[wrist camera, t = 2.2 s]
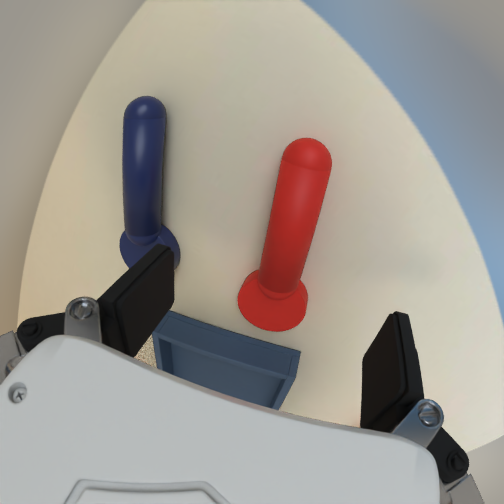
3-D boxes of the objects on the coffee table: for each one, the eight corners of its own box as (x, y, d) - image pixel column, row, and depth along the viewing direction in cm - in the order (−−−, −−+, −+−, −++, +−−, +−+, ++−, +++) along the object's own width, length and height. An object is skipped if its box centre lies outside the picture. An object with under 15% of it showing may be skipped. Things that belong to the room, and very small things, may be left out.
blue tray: (175, 399, 31) (166, 416, 29) (166, 309, 23) (150, 330, 20) (262, 429, 30) (257, 447, 28) (300, 351, 21) (295, 377, 19)
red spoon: (355, 147, 13) (360, 155, 11) (298, 326, 20) (293, 351, 18) (271, 126, 14) (260, 131, 12) (238, 309, 20) (228, 332, 18)
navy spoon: (191, 97, 14) (169, 98, 12) (180, 280, 21) (164, 300, 19) (128, 94, 14) (103, 97, 12) (130, 263, 21) (113, 281, 19)
